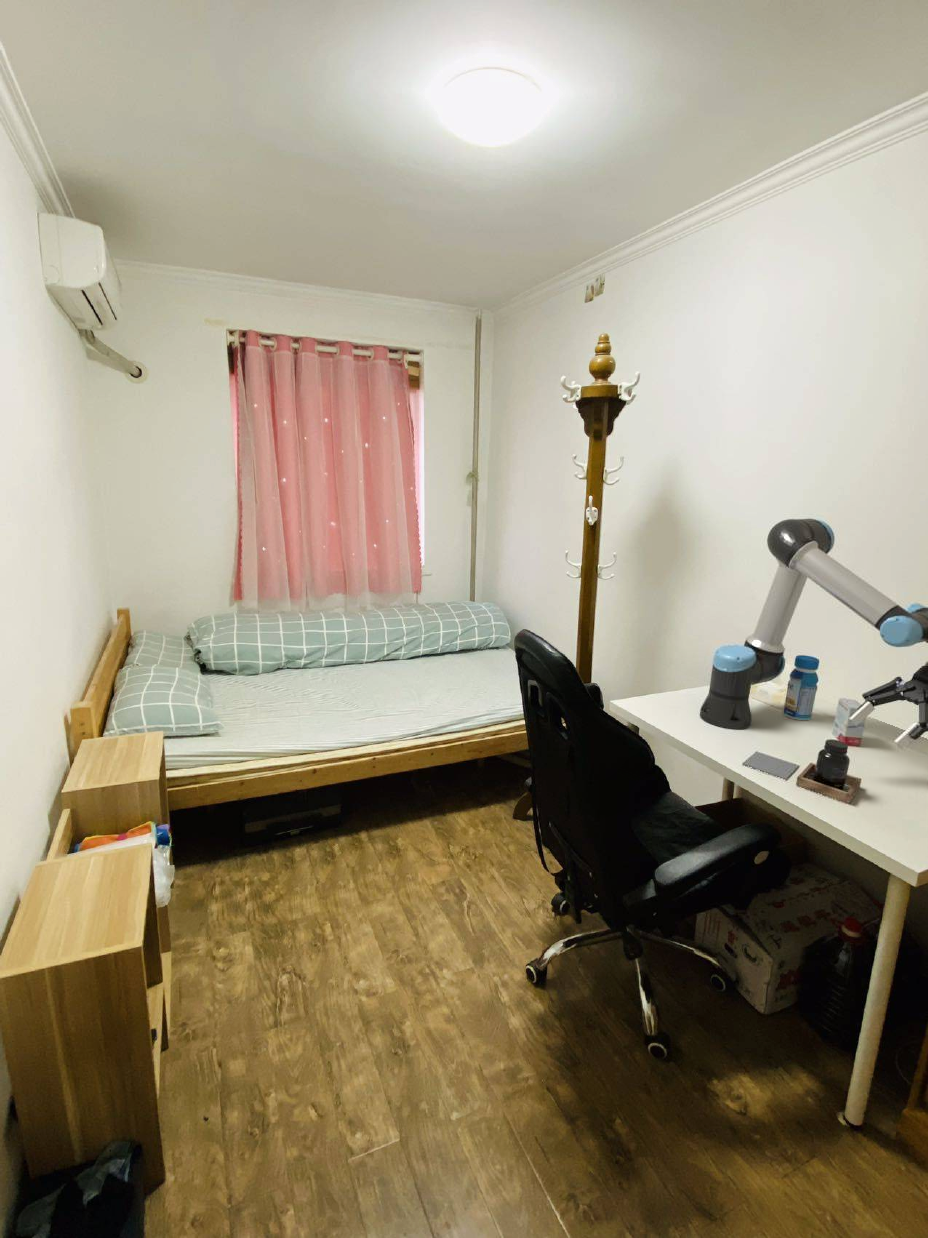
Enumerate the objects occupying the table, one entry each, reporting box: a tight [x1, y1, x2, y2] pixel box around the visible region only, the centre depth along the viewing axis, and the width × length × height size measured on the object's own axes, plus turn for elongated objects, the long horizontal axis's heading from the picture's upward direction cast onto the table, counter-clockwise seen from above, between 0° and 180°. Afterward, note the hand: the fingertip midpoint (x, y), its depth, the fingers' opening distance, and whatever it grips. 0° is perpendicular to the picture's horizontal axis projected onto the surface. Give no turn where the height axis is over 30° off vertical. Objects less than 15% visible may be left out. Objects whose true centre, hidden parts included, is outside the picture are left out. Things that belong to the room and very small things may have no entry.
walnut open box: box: [795, 762, 862, 805], centre depth 152 cm, size 12×12×2 cm
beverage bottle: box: [782, 654, 820, 721], centre depth 195 cm, size 8×8×20 cm
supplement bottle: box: [812, 738, 851, 791], centre depth 151 cm, size 7×7×12 cm
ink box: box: [831, 697, 867, 747], centre depth 179 cm, size 9×5×12 cm, turn 168°
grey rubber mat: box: [741, 751, 800, 781], centre depth 162 cm, size 11×11×1 cm
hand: (874, 733), depth 150 cm, fingers open, 13 cm apart
